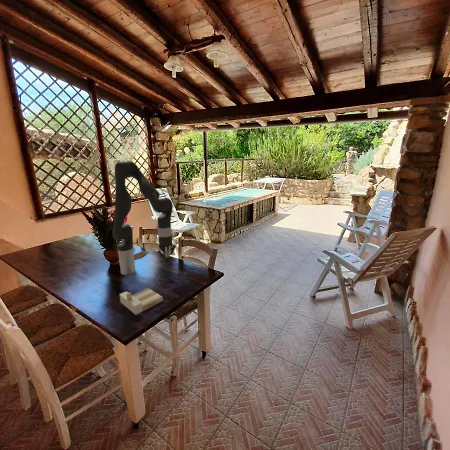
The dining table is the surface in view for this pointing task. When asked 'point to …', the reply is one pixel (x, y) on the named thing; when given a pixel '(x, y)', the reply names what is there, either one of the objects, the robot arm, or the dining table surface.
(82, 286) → the dining table surface
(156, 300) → the maple plate
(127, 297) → the block
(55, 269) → the dining table surface
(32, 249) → the dining table surface
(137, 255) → the wooden fragment
